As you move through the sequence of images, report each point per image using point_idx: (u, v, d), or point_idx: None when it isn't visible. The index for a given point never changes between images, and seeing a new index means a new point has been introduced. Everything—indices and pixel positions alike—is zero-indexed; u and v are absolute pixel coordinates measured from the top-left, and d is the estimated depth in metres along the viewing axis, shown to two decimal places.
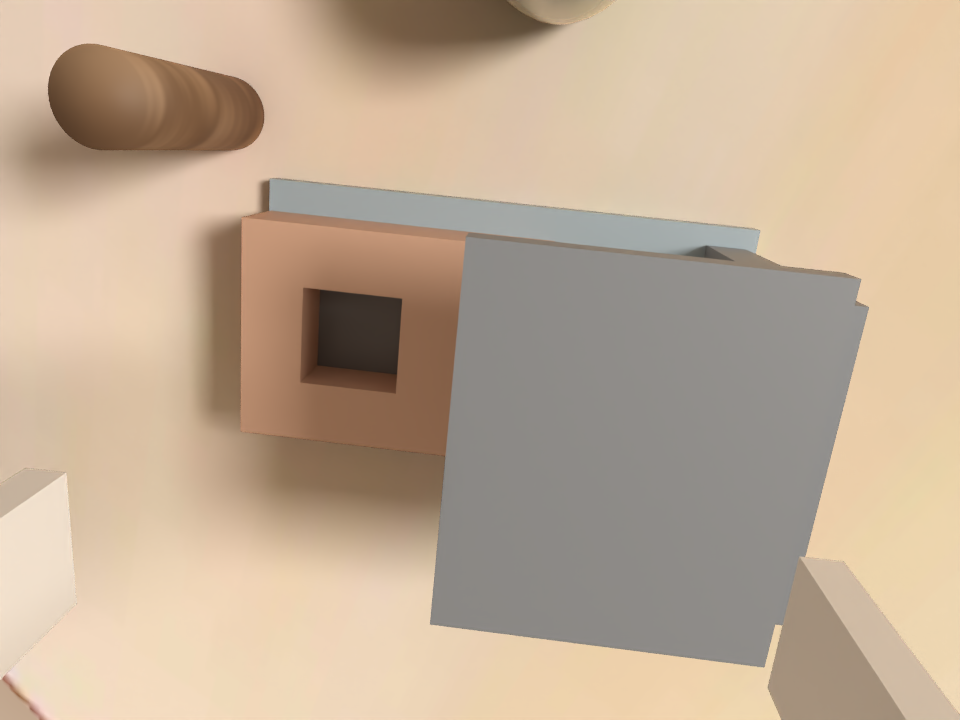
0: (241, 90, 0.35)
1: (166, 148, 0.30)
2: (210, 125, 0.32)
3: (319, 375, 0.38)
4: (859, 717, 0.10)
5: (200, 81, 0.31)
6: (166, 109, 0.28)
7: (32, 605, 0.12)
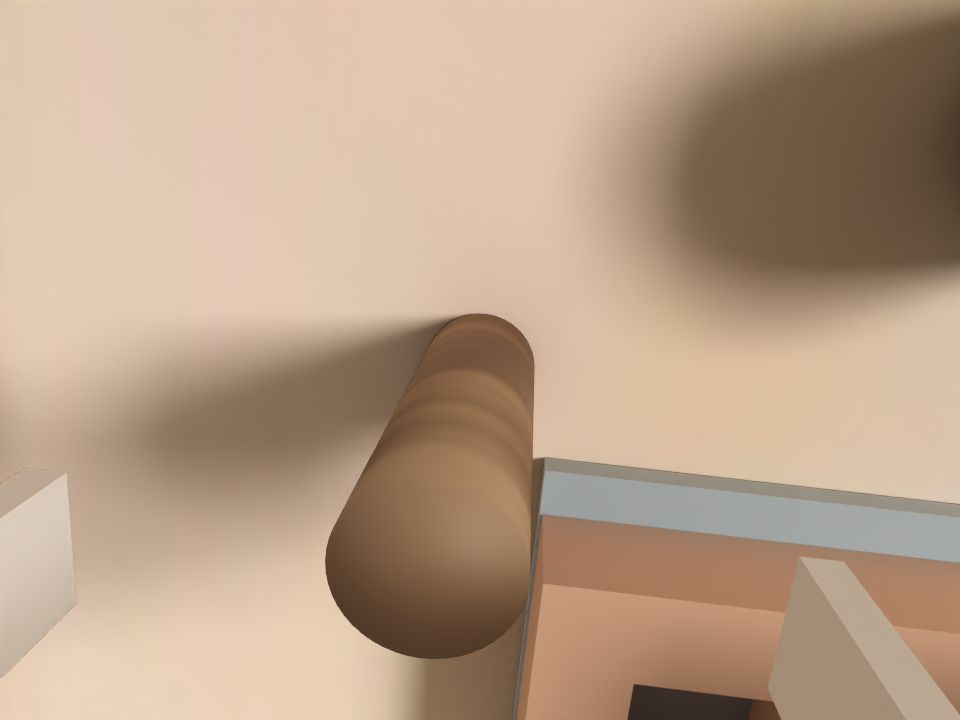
0: (524, 356, 0.22)
1: None
2: None
3: None
4: (859, 717, 0.10)
5: (519, 408, 0.17)
6: None
7: (32, 605, 0.12)
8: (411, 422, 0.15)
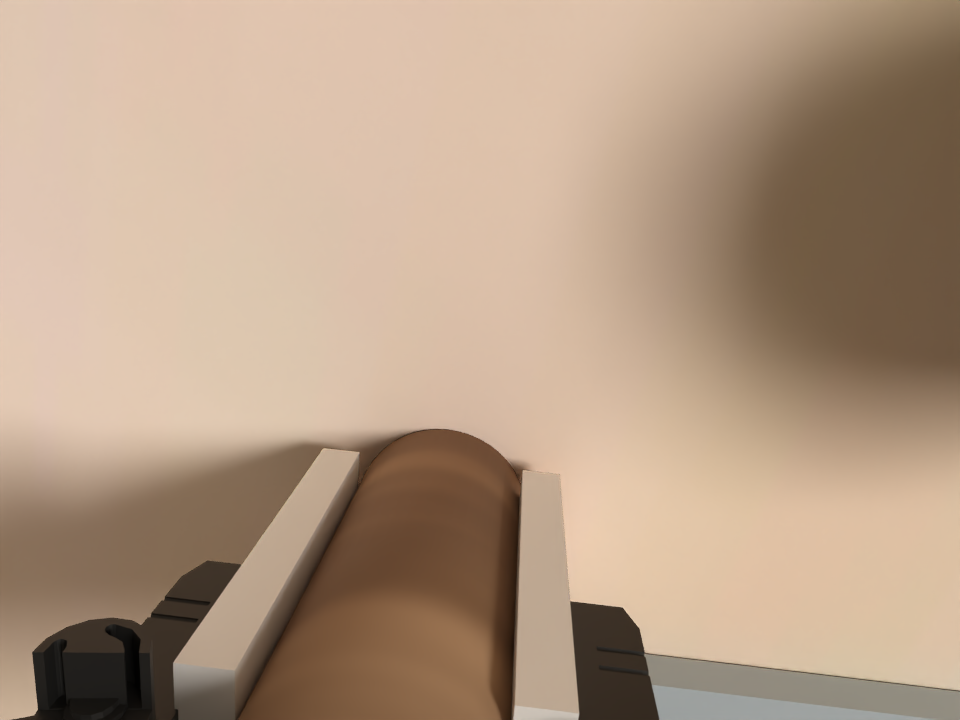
0: (508, 514, 0.13)
1: None
2: None
3: None
4: None
5: (495, 681, 0.09)
6: None
7: None
8: None
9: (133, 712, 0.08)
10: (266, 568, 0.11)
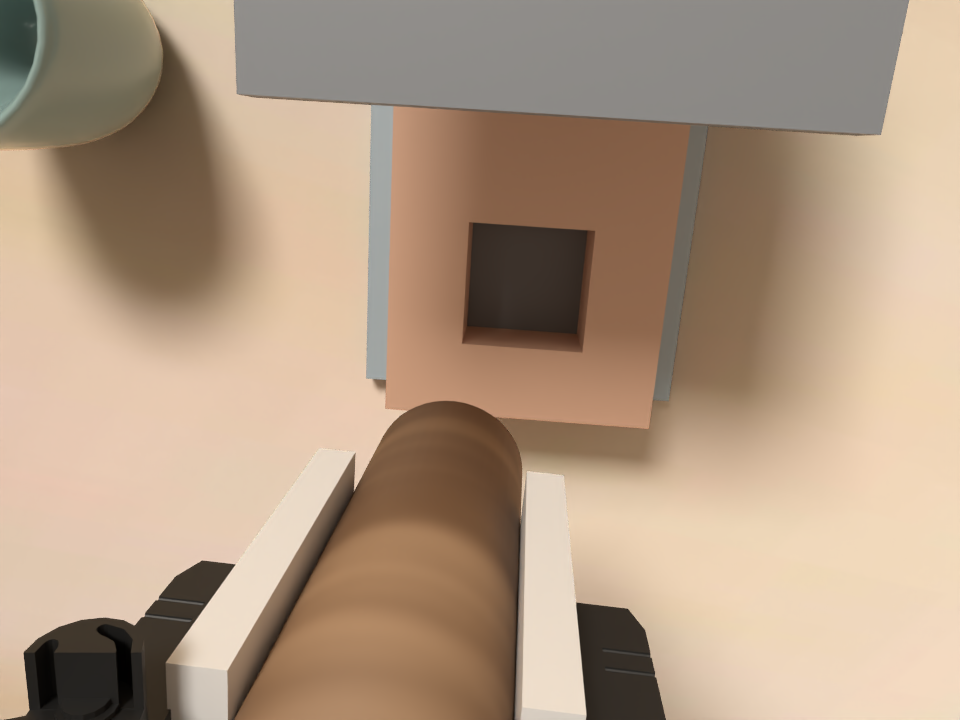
0: (507, 471, 0.15)
1: None
2: None
3: (580, 330, 0.30)
4: (519, 584, 0.12)
5: (496, 590, 0.11)
6: None
7: None
8: (303, 663, 0.09)
9: (125, 712, 0.08)
10: (260, 568, 0.11)
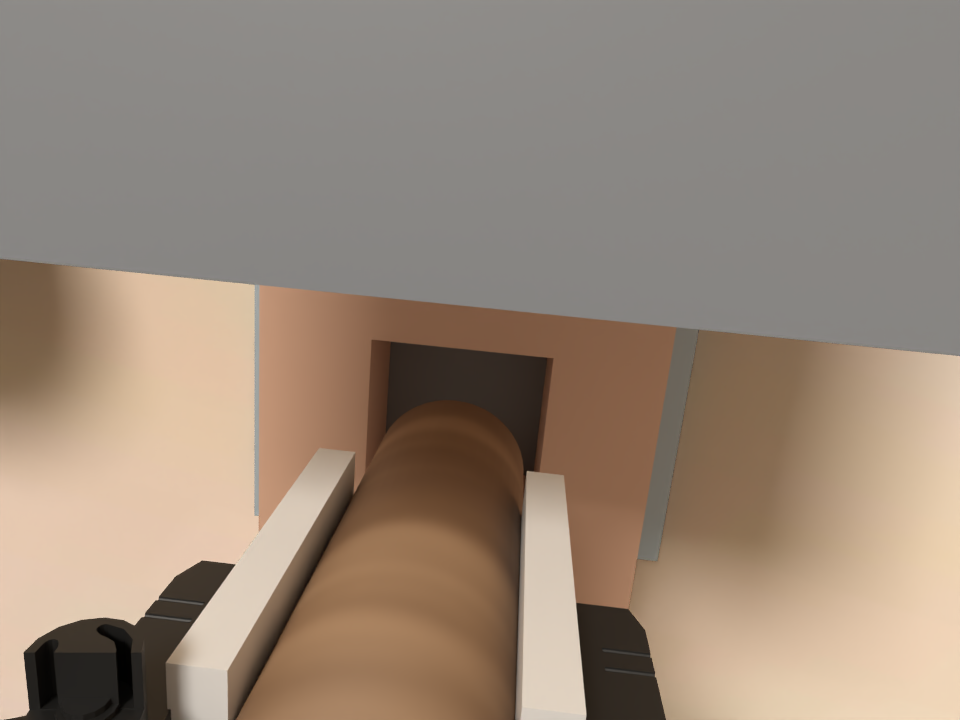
0: (508, 470, 0.15)
1: None
2: None
3: None
4: (519, 584, 0.12)
5: (498, 590, 0.11)
6: None
7: None
8: (305, 662, 0.09)
9: (125, 712, 0.08)
10: (260, 568, 0.11)
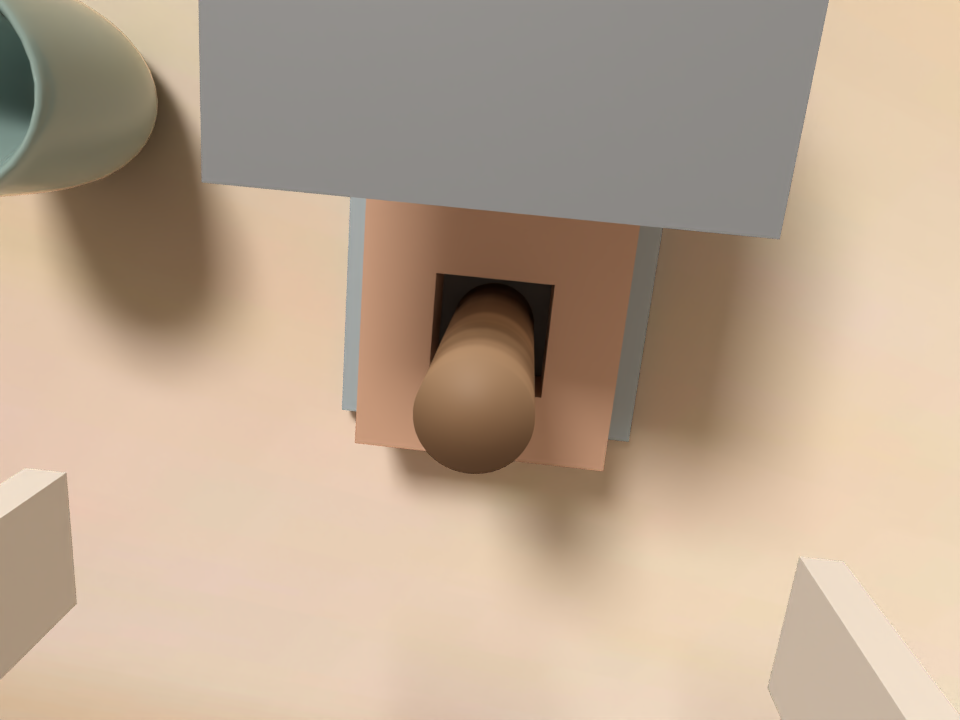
0: (527, 311, 0.30)
1: None
2: None
3: (542, 375, 0.32)
4: (859, 717, 0.10)
5: (526, 338, 0.26)
6: None
7: (32, 605, 0.12)
8: (459, 338, 0.24)
9: None
10: None
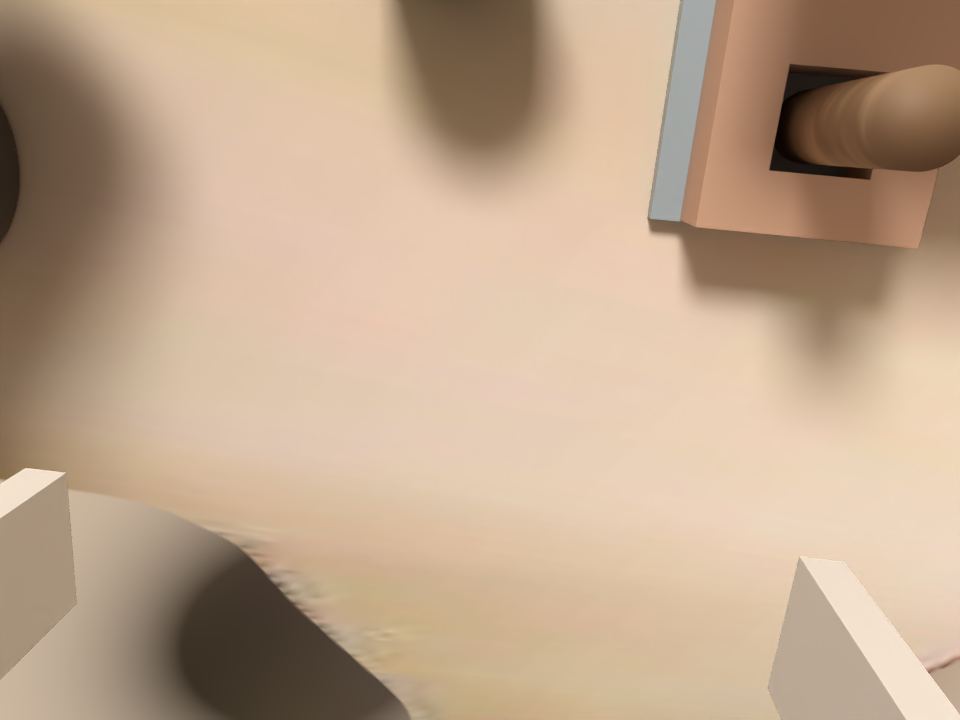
0: None
1: None
2: None
3: None
4: (859, 717, 0.10)
5: None
6: None
7: (32, 605, 0.12)
8: (878, 76, 0.28)
9: None
10: None
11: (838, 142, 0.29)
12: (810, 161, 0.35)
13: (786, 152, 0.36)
